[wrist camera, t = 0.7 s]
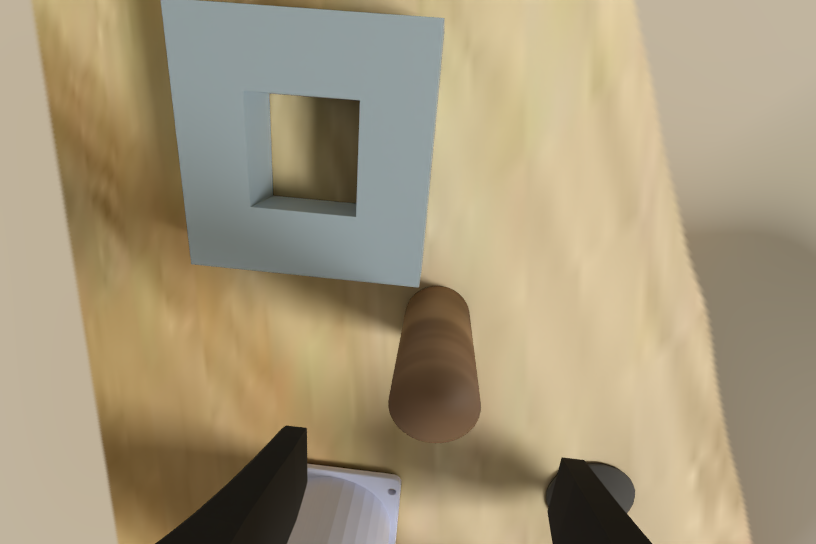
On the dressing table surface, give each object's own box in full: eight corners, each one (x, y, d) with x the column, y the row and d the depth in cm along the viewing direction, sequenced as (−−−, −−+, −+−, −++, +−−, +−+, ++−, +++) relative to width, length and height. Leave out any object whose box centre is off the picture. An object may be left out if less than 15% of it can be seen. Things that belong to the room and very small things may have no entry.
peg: (465, 346, 22) (474, 447, 15) (403, 339, 22) (385, 437, 15) (473, 289, 20) (487, 372, 14) (408, 283, 21) (391, 362, 14)
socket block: (421, 267, 20) (419, 287, 18) (219, 247, 21) (191, 264, 18) (444, 31, 17) (444, 18, 14) (199, 13, 17) (160, -3, 15)
